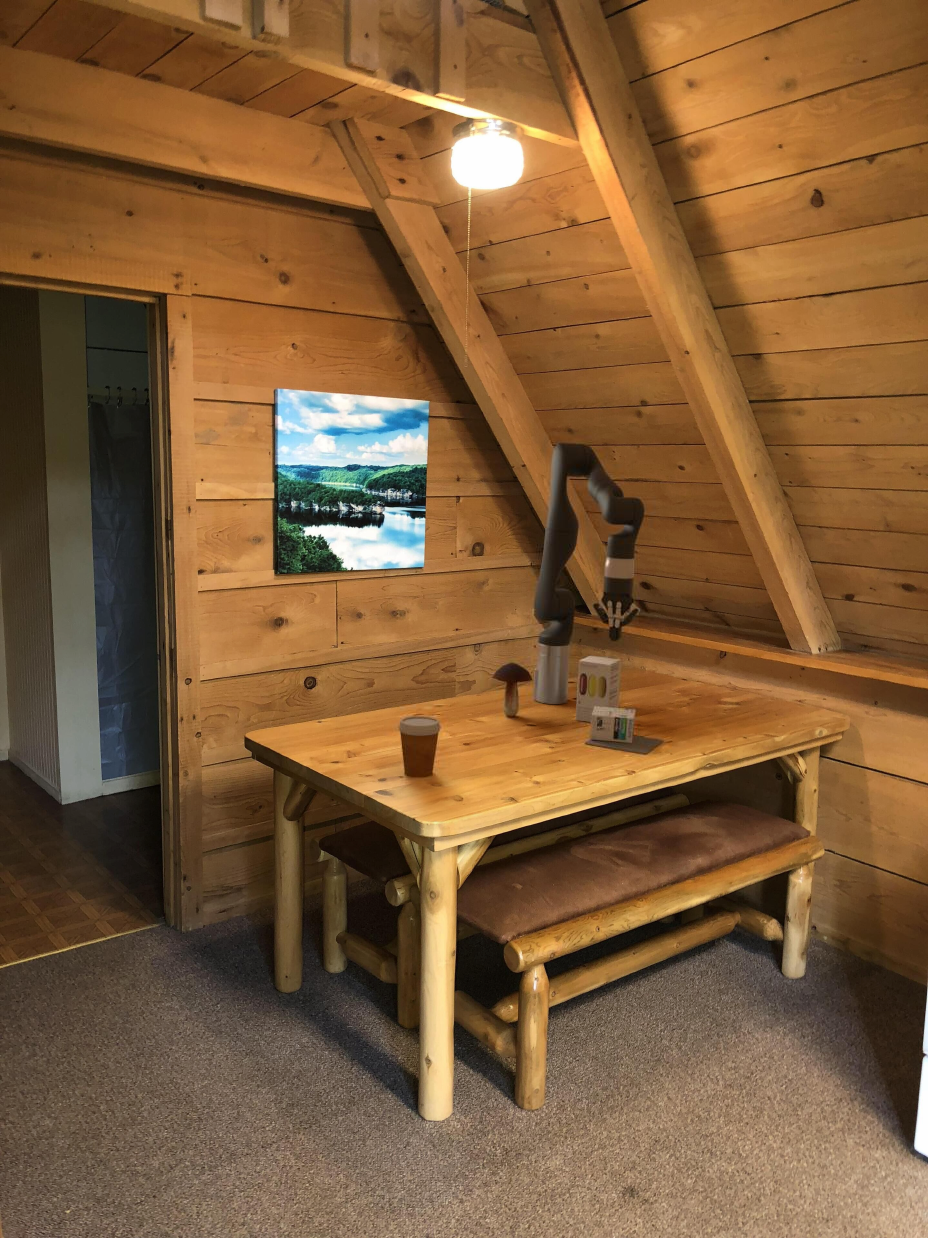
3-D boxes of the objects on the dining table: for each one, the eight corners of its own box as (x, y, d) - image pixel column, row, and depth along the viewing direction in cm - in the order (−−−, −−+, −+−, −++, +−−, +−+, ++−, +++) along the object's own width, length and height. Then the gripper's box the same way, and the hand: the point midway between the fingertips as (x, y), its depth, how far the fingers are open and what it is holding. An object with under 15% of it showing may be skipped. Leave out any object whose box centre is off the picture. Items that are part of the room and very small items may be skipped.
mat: (584, 744, 250) (584, 742, 249) (604, 731, 262) (604, 730, 262) (645, 754, 242) (645, 753, 242) (663, 741, 254) (663, 740, 254)
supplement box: (574, 720, 272) (577, 660, 270) (586, 713, 280) (589, 654, 278) (607, 725, 268) (610, 664, 265) (618, 718, 276) (622, 658, 273)
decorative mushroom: (486, 712, 278) (488, 659, 276) (523, 710, 281) (525, 658, 279) (497, 722, 268) (499, 667, 266) (536, 720, 271) (538, 666, 269)
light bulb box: (589, 740, 252) (632, 744, 250) (591, 714, 251) (634, 718, 249) (592, 729, 262) (634, 733, 260) (594, 704, 261) (636, 708, 259)
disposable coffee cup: (439, 766, 228) (440, 715, 226) (439, 780, 218) (441, 727, 217) (397, 766, 227) (398, 715, 226) (396, 779, 218) (397, 726, 216)
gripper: (648, 576, 256) (643, 642, 259) (600, 571, 262) (596, 635, 265) (638, 579, 249) (633, 646, 253) (589, 573, 256) (585, 639, 259)
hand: (614, 640), depth 259 cm, fingers closed
